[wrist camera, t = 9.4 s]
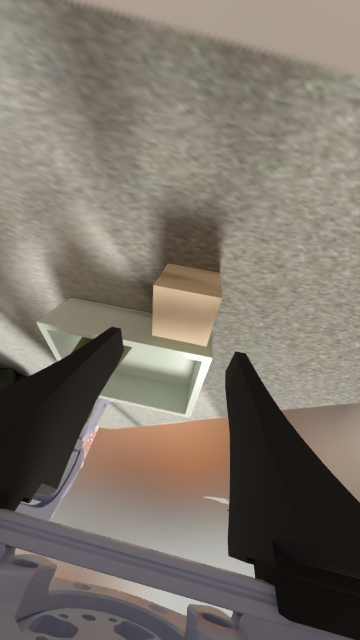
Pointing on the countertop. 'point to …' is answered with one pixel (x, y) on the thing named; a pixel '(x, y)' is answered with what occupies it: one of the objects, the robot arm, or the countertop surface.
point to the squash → (8, 378)
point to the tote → (133, 355)
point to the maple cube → (186, 304)
